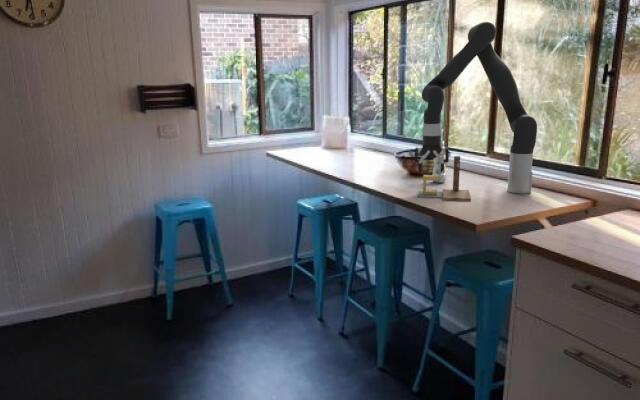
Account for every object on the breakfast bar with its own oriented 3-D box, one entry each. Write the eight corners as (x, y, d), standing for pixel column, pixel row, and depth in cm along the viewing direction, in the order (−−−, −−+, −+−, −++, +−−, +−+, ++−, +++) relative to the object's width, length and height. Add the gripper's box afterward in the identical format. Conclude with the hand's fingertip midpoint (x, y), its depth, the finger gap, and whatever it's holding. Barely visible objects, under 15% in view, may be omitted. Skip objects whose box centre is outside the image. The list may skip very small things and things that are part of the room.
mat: (441, 192, 223) (441, 191, 223) (441, 198, 214) (441, 197, 214) (418, 191, 225) (418, 190, 225) (417, 197, 216) (417, 196, 216)
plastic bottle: (436, 184, 238) (437, 142, 233) (429, 181, 245) (430, 140, 240) (448, 183, 240) (450, 141, 235) (441, 180, 246) (442, 139, 241)
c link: (437, 193, 221) (437, 175, 219) (437, 195, 217) (437, 177, 215) (423, 192, 222) (423, 174, 220) (422, 194, 218) (423, 176, 216)
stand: (468, 192, 222) (470, 156, 218) (470, 201, 208) (472, 162, 204) (442, 191, 224) (444, 155, 220) (443, 200, 210) (444, 162, 206)
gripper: (449, 132, 215) (447, 170, 219) (414, 133, 218) (414, 170, 222) (449, 135, 208) (448, 173, 212) (414, 135, 211) (413, 173, 215)
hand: (431, 171), depth 217 cm, fingers open, 8 cm apart
